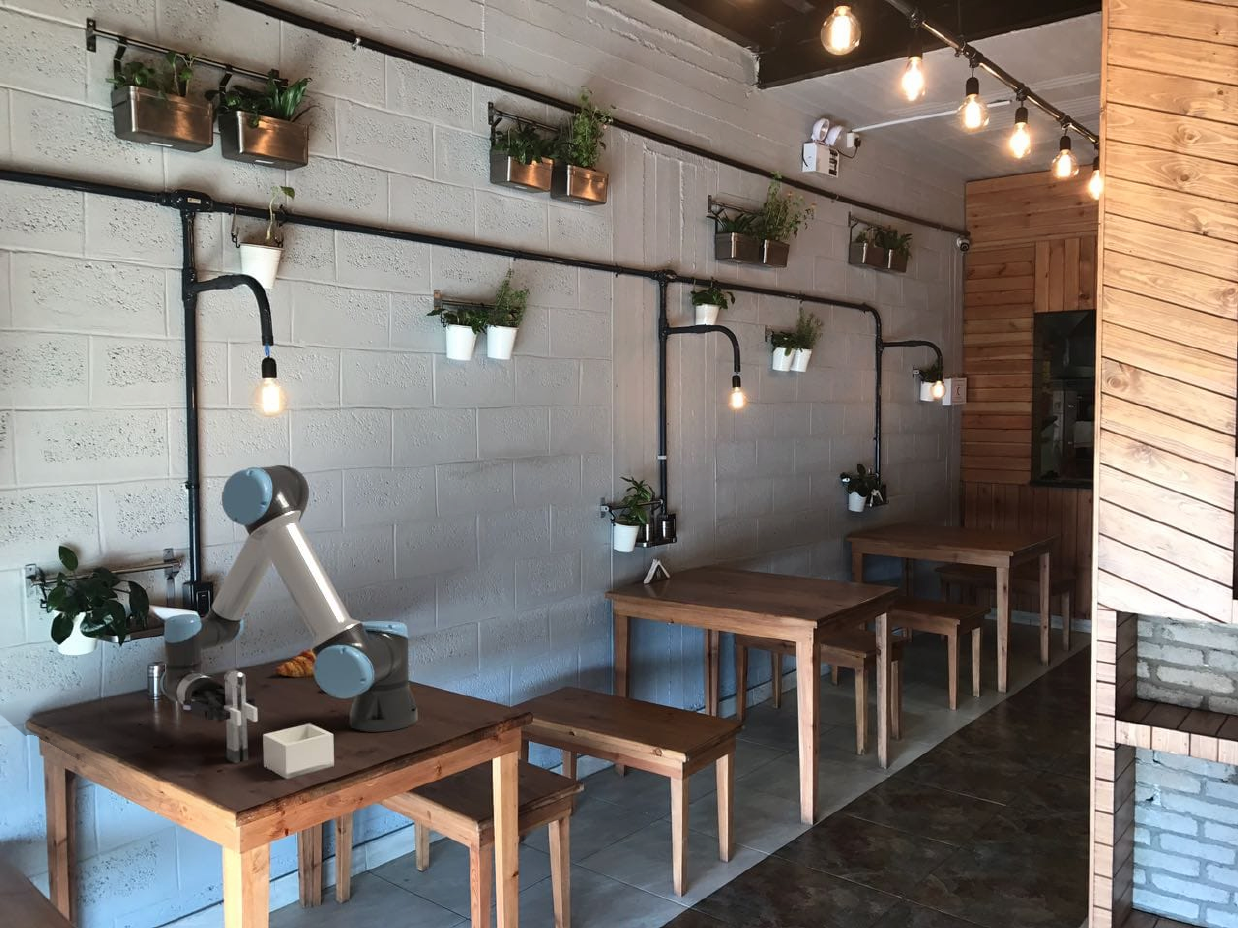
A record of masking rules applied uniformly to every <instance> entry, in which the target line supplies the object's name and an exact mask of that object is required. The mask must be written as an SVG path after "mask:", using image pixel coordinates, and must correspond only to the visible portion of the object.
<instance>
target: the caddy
mask: <svg viewBox="0 0 1238 928" xmlns="http://www.w3.org/2000/svg"><path fill="white" fill-rule="evenodd" d="M262 737H263V738H262V740H263V741H262V743H263V745H262V746H263V767H264V768H266V767H267V768H266V769H267V770H269V771H271V770H272V771H271V772H273V771H274V773H275V774H277V775H279V776H280V777H282V778H284V779H285V780H288V779H289V780H290V779H293V778H296V777H300V776H302V775H307V774H311V773H314V772H318V771H321V770H326V769H328V768H331V767H332V768H333V767H335V755H334V754H335V751H334V750H335V749H334V734H333V733H331V732H329V731H327V730H325V729H323V728H321V727H319V726H317V725H314V724H312V723H310V722H309V723H305V724H301V725H297V726H293V727H288V728H283V729H281V730H276V731H272V732H271V731H270V732H267V733H264V734H262Z"/></svg>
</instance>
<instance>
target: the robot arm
mask: <svg viewBox="0 0 1238 928" xmlns="http://www.w3.org/2000/svg"><path fill="white" fill-rule="evenodd" d="M309 497H310V488H309V484H308V481H307V480H306V478H305V476H304V475H303V474H302V473H301V472H300V471H299V470H298V469H296V468H295V467H293V466H289V465H286V464H285V465H284V464H282V465H281V464H276V465H270V466H261V467H257V466H256V467H255V466H252V467H248V468H246V469H241V470H238V471H236V472H235V473H233V474H232V475H230V477H229V478H228V479H227V481H226V482H225V484H224V486H223V491H222V494H221V504H222V508H223V511H224V513H225V515H226V516H227V517H228V518H229V519H230V520H231V521H232V522H234V523H236V524H239V525H243V526H244V528H245V530H246V531H247V534H248V536H247V537H246V539H245V542H244V544H243V546H242V547H241V549H240V551H239V553H238V555H237V557H236V559H235V561H234V563H233V564H232V567H231V569H229V570H230V571H229V572H228V574H227V576H226V578H225V580H224V582H223V584H222V585H221V588H220V590H219V592H218V594H217V595H216V597H215V599H214V600H213V603H212V605H211V607H210V608H209V609H208V612H207V614H206V615H205V616H204V617H200V616H199V614H195V613H193V614H192V613H183V614H177V615H172V616H169V617H167V619H165V621H164V633H163V639H164V640H163V641H164V654H165V657H164V658H165V659H164V660H165V671H164V672H163V673H162V675H161V677H160V680H159V686H160V687H159V688H160V690H161V692H162V693H163V694H164V695H165V696H166V697H167V698H168V699H169V700H171V701H173V702H176V703H179V704H180V705H182V706H183V707H182V708H183V711H182V713H183V714H190V715H193V716H195V717H199V718H201V719H204V720H206V721H212V720H214V718H216V720H217V721H216V722H217V723H219V724H220V723H224V720H225V721H226V720H227V721H229V722H231V723H233V724H235V725H237V726H239V725H241V712H240V711H238V710H236V709H234V708H232V707H230V706H228V705H226V698H225V686H223V684H222V683H221V682H220V681H218V680H216V679H214V678H212V677H210V676H208V675H205V674H203V652H207V651H209V650H211V649H214V648H217V647H220V646H223V645H227V644H229V643H231V642H233V641H234V640H236V639H238V638H239V637H240V636H242V634H243V632H244V625H245V624H244V623H245V621H244V619H243V618H244V616H245V613H246V612H247V610H248V608H249V606H250V604H251V603H252V601H253V599H254V597H255V595H256V593H257V591H258V589H259V588H260V585H262V582H263V580H264V579H265V576H266V574H267V573H268V570H270V569H269V568H270V567H271V565H272V564H273V566H274V567H275V569H276V571H277V573H278V575H279V577H280V578H281V580H282V582H283V585H284V587H285V588H286V590H287V591H288V593H289V595H290V597H291V599H292V601H293V603H294V605H295V606H296V608H297V609H298V612H299V613H300V616H301V617H302V619H303V621H304V623H305V625H306V627H307V628H308V630H309V632H310V634H311V636H312V638H313V640H312V644H311V646H310V647H311V648H310V649H311V650H312V652H313V653H314V655H315V657H316V660H315V662H314V664H315V667H314V669H313V670H314V676H313V677H314V678H315V681H316V684H317V685H318V686H319V687H320V689H321V690H322V691H323V692H325V693H326V694H327V695H329V696H331V697H336V698H339V699H348V698H353V697H354V699H353V702H352V704H351V705H352V706H351V708H350V713H349V726H350V727H351V728H353V729H354V730H356V731H361V732H362V731H363V732H370V733H371V732H374V733H375V732H378V733H379V732H390V731H395V730H396V731H397V730H401V729H403V728H404V729H405V728H406V727H410V726H411V725H414V724H415V723H416V722H417V721H418V706H417V704H416V701H415V699H414V696H413V693H412V691H411V687H410V675H409V674H410V673H409V671H410V670H409V639H410V638H409V635H408V633H409V632H408V627H407V625H406V624H405V623H403V622H402V621H401V622H400V621H389V620H388V621H386V620H384V621H383V620H382V621H381V620H376V621H375V620H372V621H371V620H370V621H362V622H361V621H360V620H357V619H354V618H351V616H350V615H349V613H348V610H347V609H346V606H345V605H344V604H343V602H342V600H341V598H340V597H339V595H338V593H337V591H336V589H335V587H334V585H333V584H332V581H331V580H330V577H328V574H327V573H326V571H325V569H324V567H323V565H322V563H321V562H320V560H319V557H318V556H317V554H316V552H315V551H314V549H313V547H312V545H311V543H310V541H309V539H308V538H307V536H306V534H305V532H304V530H303V529H302V527H301V525H300V523H299V522H300V521H301V519H302V517H303V515H304V513H305V511H306V509H307V507H308V502H309ZM246 719H247V720H249V721H250V722H253V723H256V722H258V707H256V698H255V697H254V696H253V695H250V694H249V693H248V692H246Z"/></svg>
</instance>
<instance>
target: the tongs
mask: <svg viewBox="0 0 1238 928" xmlns="http://www.w3.org/2000/svg"><path fill="white" fill-rule="evenodd" d="M223 681H224V689H225V698H226V705H228V706H230V707H232V708H234V709H236V710H238V711H240V712H241V725H239V726H237V725H235V724H233V723H231V722H229V721H227V720H225V722H226V727H225V728H226V759H227V760H229V761H230V762H232V763H234V764H237V763H240V762H241V761H243V762H245V761H249V748H248V726H247V725H248V724H247V723H248V722H247V720H248V719H247V718H246V693H247V692H246V691H247V689H246V682H247V676H246V675H245V673H243V672H241V671H238V670H236V669H228V670H227V671H226V672H225V673H224V675H223ZM240 760H241V761H240Z"/></svg>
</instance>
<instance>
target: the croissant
mask: <svg viewBox="0 0 1238 928" xmlns="http://www.w3.org/2000/svg"><path fill="white" fill-rule="evenodd" d="M315 660H316V657H315V655H314V653H313V652H312V650H311V648H310V649H305V650H302V651H301V652H300V653H298V656H294V657H292V658H291V660H290V661H289V662H284V663H282V664H281V665H280V666H277V667H275V670H276V673H277V674H279V675H282V676H286V677H287V676H289V677H292V678H301V677H303V678H304V677H315V676H314V670H313V669H314V667H315V664H314V662H315Z"/></svg>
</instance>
